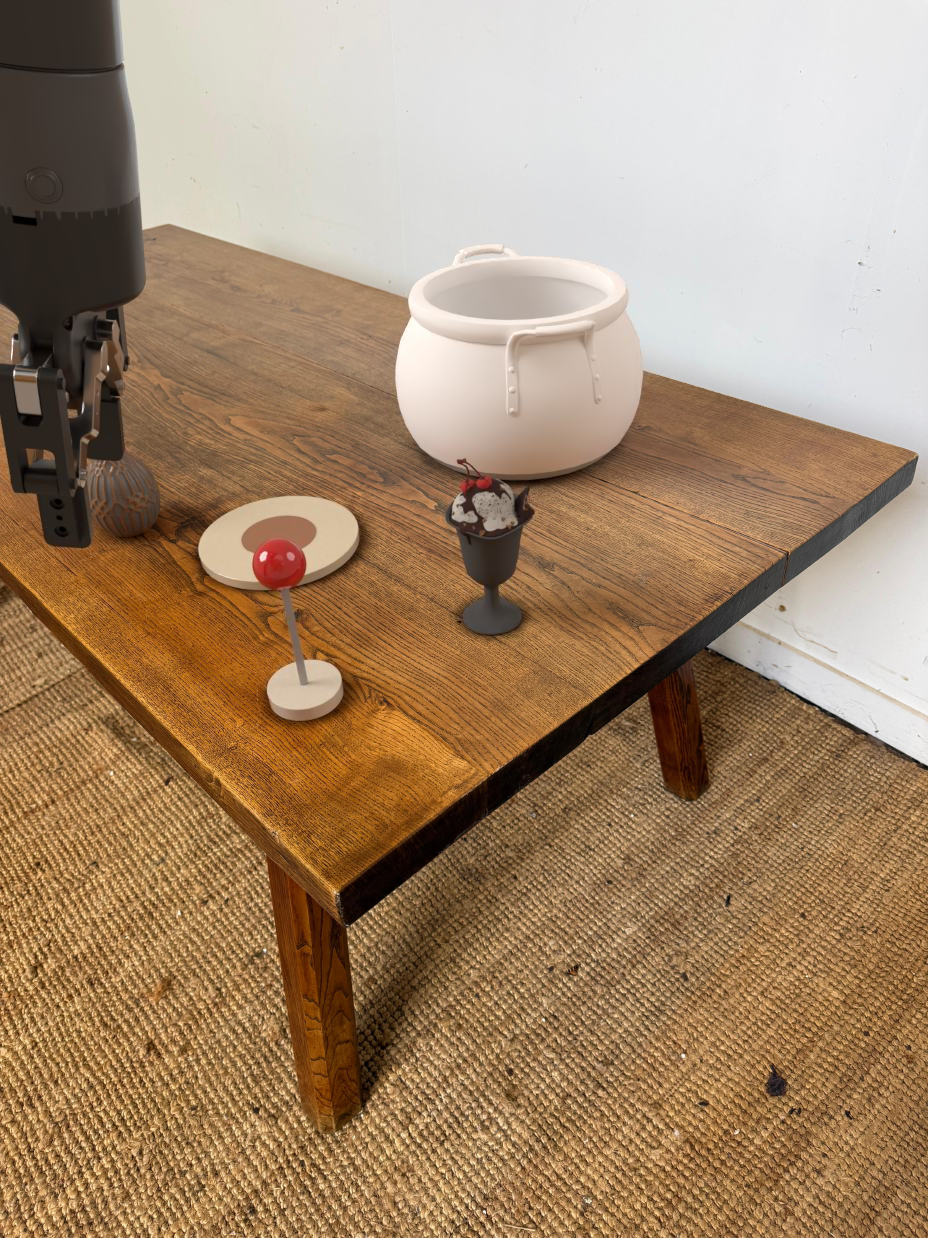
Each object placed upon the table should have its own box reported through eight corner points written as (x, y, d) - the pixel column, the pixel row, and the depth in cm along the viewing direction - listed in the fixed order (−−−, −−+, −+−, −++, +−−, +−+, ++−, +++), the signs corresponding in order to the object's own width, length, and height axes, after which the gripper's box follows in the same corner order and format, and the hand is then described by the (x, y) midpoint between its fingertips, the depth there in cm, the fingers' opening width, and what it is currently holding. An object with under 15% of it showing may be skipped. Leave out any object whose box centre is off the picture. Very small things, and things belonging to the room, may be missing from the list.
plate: (201, 604, 76) (199, 594, 76) (198, 518, 88) (196, 509, 87) (371, 573, 79) (370, 563, 78) (347, 493, 91) (345, 484, 90)
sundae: (435, 620, 73) (422, 458, 64) (488, 584, 77) (483, 425, 68) (494, 653, 69) (490, 486, 60) (548, 613, 73) (551, 450, 64)
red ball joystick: (272, 728, 64) (234, 572, 56) (266, 679, 68) (230, 527, 60) (348, 712, 65) (322, 556, 56) (338, 664, 69) (312, 513, 61)
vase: (84, 527, 88) (55, 447, 82) (147, 501, 91) (124, 423, 86) (114, 554, 83) (86, 471, 78) (180, 525, 87) (157, 445, 82)
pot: (380, 402, 108) (364, 256, 98) (583, 373, 113) (589, 230, 102) (432, 520, 86) (419, 347, 75) (683, 477, 90) (704, 308, 80)
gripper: (0, 124, 42) (48, 428, 52) (-118, 213, 31) (-29, 573, 42) (163, 147, 44) (179, 439, 54) (104, 240, 33) (138, 583, 43)
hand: (88, 497), depth 48 cm, fingers open, 8 cm apart
